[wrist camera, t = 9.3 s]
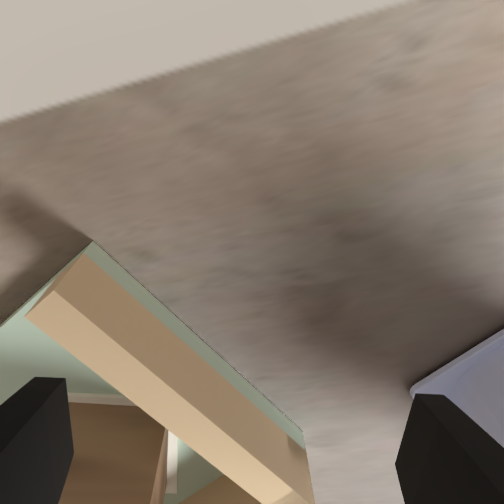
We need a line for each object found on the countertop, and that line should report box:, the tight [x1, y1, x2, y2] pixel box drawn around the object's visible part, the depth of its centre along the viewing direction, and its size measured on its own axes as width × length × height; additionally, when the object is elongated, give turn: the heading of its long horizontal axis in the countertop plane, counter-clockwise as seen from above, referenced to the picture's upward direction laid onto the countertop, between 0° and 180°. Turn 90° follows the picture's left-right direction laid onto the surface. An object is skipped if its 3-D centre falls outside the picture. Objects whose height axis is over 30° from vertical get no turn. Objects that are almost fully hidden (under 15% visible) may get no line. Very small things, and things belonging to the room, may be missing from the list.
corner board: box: [0, 241, 315, 504], centre depth 21 cm, size 14×19×4 cm
